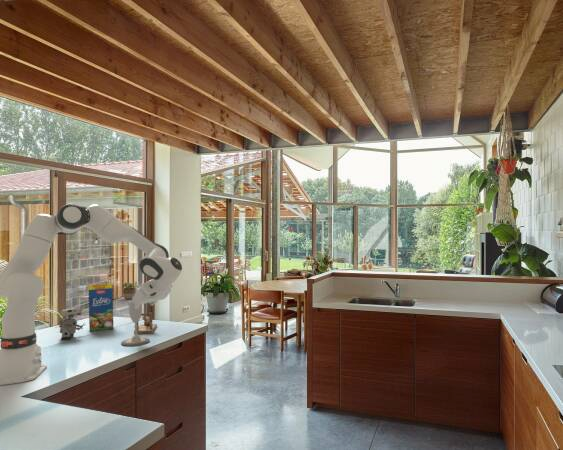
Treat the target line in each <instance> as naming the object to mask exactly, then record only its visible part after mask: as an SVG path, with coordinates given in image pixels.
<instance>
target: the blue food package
mask: <svg viewBox="0 0 563 450" xmlns="http://www.w3.org/2000/svg"><path fill="white" fill-rule="evenodd" d="M113 294H114V293H113V283H112V282H111V283H99V284H97V283H96V284H89V285H88V314H89V315H88V320H89V323H88V324H89V326H88V329H89V332H96V331H104V330H105V331H107V330H111V329H114V295H113Z"/></svg>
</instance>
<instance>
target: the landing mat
mask: <svg viewBox="0 0 563 450" xmlns="http://www.w3.org/2000/svg"><path fill="white" fill-rule="evenodd" d="M140 338H141V341H138V342H131V339H132V337H131V338H127V339H124V340H121V342H120V344H121V345H122V346H124V347H136V346H138V347H139V346H143V345H146V344H149V343H150V342H151V341H150V338H148V337H140Z"/></svg>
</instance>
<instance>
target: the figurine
mask: <svg viewBox="0 0 563 450" xmlns="http://www.w3.org/2000/svg"><path fill="white" fill-rule="evenodd" d="M82 311H83V310H82V309H81V307H79V306H78V307H73V308H66V309H62V310H60V311H59V316H60V317H62V316H63V318H62V319H61V320H60V321H59V323H58V324H59V325H58V327H59V333H60V334H61V339H60V340H61V341H68V340H71V339H72V337H73V336H75V334H76V331H80V330H83V329H84V328H83V327H84V326H85V323H83V324H82V325H80V324H78V319H75V318H74V317H76V316H81V315H82Z"/></svg>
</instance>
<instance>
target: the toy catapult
mask: <svg viewBox="0 0 563 450" xmlns="http://www.w3.org/2000/svg"><path fill="white" fill-rule="evenodd" d="M141 317H142V320H143V321H144V322H143V324H139V322H137V326H138V327H137V330H138V331H137V334H138V335H148V334H153V332H154V331H155V330H156V328H158V324H157V323H153V312H145V313H144V312H142V315H141ZM133 335H135V331H134V330H133Z"/></svg>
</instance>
